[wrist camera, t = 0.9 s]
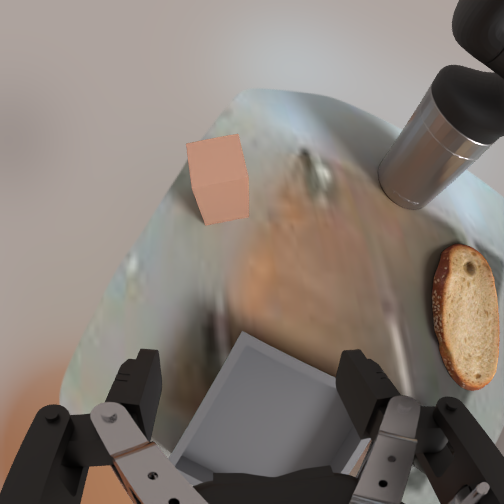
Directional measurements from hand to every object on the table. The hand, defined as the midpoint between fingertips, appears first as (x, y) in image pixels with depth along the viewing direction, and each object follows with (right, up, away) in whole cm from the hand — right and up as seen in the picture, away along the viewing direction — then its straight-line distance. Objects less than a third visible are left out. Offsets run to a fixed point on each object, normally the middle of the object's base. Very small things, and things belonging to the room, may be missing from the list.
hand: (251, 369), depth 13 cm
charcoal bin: (+3, -16, +19) cm, 25 cm away
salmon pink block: (-4, +11, +27) cm, 29 cm away
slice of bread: (+31, -4, +23) cm, 39 cm away
